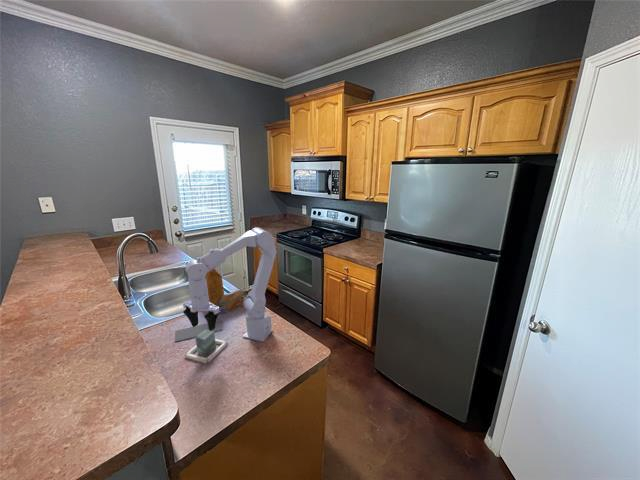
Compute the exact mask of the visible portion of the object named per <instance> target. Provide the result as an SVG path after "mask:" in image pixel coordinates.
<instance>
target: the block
mask: <svg viewBox="0 0 640 480" xmlns="http://www.w3.org/2000/svg"><path fill="white" fill-rule="evenodd" d="M194 339H195V344H196V345H197V350H196V351H197V354H198V355H200V356H203V357H204V356H205V357H208V356H210V355H211V354H212V353H213V352H214V351H215V350H216V349H217V344H216V343H215V339H216V336H215V332H213V331H209V330H204V331H203V332H202V333H201V334H199V335H198V336H197V337H195V338H194ZM196 345H195V346H196Z"/></svg>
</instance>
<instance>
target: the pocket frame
mask: <svg viewBox="0 0 640 480" xmlns="http://www.w3.org/2000/svg"><path fill="white" fill-rule="evenodd" d="M215 343H216V345H219V346H218V347H216V348H215V349H214V350H213V351H212V352H211V353H210V354H209V355H208V356H206V357H204V356H202V355H200V356H199V355H197V354H194V353H196V351H197V345H194V346H193V347H192V348H191V349H190V350H188V351H187V352H186V353H184V358H186V359H188V360H190V359H191V360H193V361H197V362H199V363H200V362H201V363H204V364H208V363H210V362H211V361H212V360H213V359H214V358H215V357H216V356H217V355H218V354H220V352H221V351H222V350H224V349H225V347H227V346H228V341H226V340H223V339H222V340H221V339H218V338H215Z"/></svg>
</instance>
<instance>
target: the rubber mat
mask: <svg viewBox="0 0 640 480" xmlns="http://www.w3.org/2000/svg"><path fill="white" fill-rule="evenodd" d="M204 330H209V327H208V323H207V322H206V323H202V324H198V325H196V326H195V327H193V326H189V327H185V328H181V329H178V330H175V333H174V343H178V342H182V341H186V340H191V339H196V338H195V337H197V336H198V335H199V334H201V333H202V332H203V331H204ZM209 331H210V330H209ZM212 331H213V332H214V333H217V332H221V331H224V329H223V325H222V320H221V319H219V320H216V324H215V329H213V330H212Z"/></svg>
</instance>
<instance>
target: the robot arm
mask: <svg viewBox="0 0 640 480" xmlns="http://www.w3.org/2000/svg"><path fill="white" fill-rule="evenodd" d="M275 241H276V239H275V237H274V236H273V234H272V233H271V232H269V231H266V230H264V229H263V228H262V227H259V226H257V227H253V228H252V229H251V230H250V229H249V230H247V231H246V232H245V233H244V234H242V235H241V236H239V237H238V238H236V239H235V240H233V241H232V242H230V243H229V244H227V245H226V246H224V247H223V248H214V249H213V248H210V249H209V250H208V252H207V253H206V254H204V255H202V256H200V257H199V256H198V257H197V258H196V259H192V260H190V261H188V263H186V266H185V269H184V270H185V273H186V274H187V281H188V288H189V289H188V290H189V298H190V300H185V301H184V302H183V303H182V307H183V309H184V310H183V314H184V315H185V317H187V319H188V320H189V322H190V324H191V327H195V326H198V325H199V312H208V313H206V314H205V315H204V316H203V317H204V319H205V320H206V323H208V327H209V330H210V331H212V330H213V329H215V324H216V321H218V320H217V319H218V316H219V315H220V313H221V312H220V309H219V307H217V306H215V305H213V304H212V303H210V302H209V297H208V289H207V282H206V279H205V276H206V274H207V272H209V271H211V270H212V269H214V268H215V267H216V268H217V267H218V266H220V265H222V264H223V263H225V262H226V259H227V257H230V255H233V254H235V253H237V252H238V251H240V250H242V249H244V248H245V247H251V248H256V247H258V249H259V250H260V252H261V257H260V259H259V264H258V266H257V267H258V268H257V271H256V274H255V278H254V281H253V285H252V288H251V290H249V291H248V293H247V297H246V298H245V300H244V302H243V307H244V308H245V309H246V312H245V322H246V332H245V333H244V334H243V335H242V337H243V338H247V339H251V340H254V341H260V342H264V341H265V340H266V339H267V338H268V337H269V335H270V334H271V333H272V332H273V328H272V318H271V317H270V315H267V314H266V311H267V310H266V304H267V300H266V295H265V293H266V290H267V288H268V283H269V280H270V277H271V273H272V270H273V265H274V263H275V259H276V256H277V247H276V243H275ZM216 268H215V269H216ZM209 269H210V270H209Z"/></svg>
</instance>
